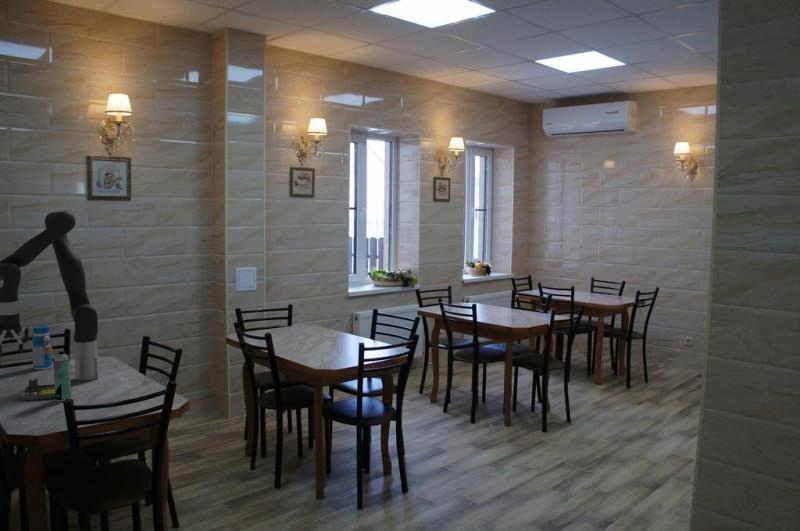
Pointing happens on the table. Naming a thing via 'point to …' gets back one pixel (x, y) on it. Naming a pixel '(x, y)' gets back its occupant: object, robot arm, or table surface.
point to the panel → (39, 392)
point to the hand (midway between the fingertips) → (10, 353)
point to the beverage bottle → (42, 348)
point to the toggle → (33, 383)
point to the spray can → (62, 376)
